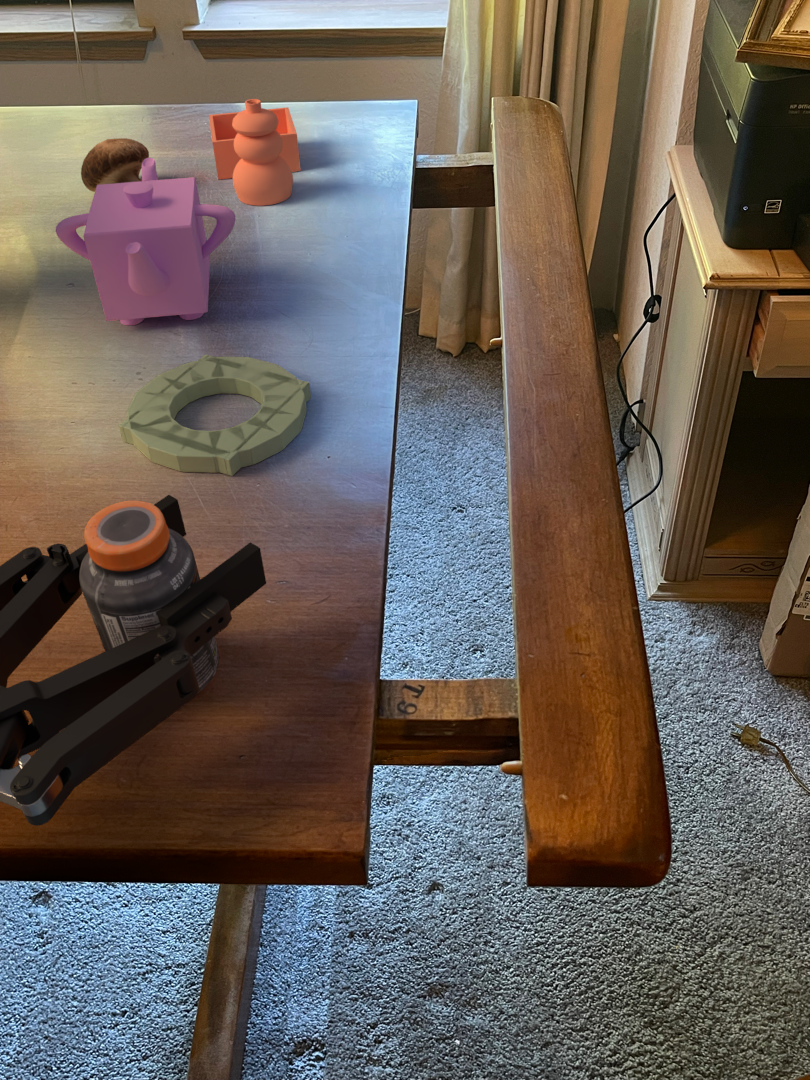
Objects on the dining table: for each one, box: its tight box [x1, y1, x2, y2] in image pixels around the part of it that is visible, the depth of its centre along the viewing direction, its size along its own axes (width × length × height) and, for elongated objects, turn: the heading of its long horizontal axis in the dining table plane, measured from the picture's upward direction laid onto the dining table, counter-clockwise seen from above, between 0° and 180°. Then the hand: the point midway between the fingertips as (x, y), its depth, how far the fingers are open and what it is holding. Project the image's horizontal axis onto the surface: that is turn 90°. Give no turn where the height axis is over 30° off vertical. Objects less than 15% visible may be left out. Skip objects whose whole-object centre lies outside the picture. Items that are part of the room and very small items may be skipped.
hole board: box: [118, 353, 312, 477], centre depth 73 cm, size 13×13×2 cm
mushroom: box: [80, 137, 150, 193], centre depth 105 cm, size 8×8×6 cm
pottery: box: [208, 98, 301, 207], centre depth 106 cm, size 18×10×10 cm, turn 11°
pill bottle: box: [79, 499, 220, 694], centre depth 51 cm, size 6×6×11 cm
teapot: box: [55, 157, 236, 326], centre depth 84 cm, size 15×13×11 cm
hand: (216, 538), depth 53 cm, fingers closed on pill bottle, 6 cm apart
